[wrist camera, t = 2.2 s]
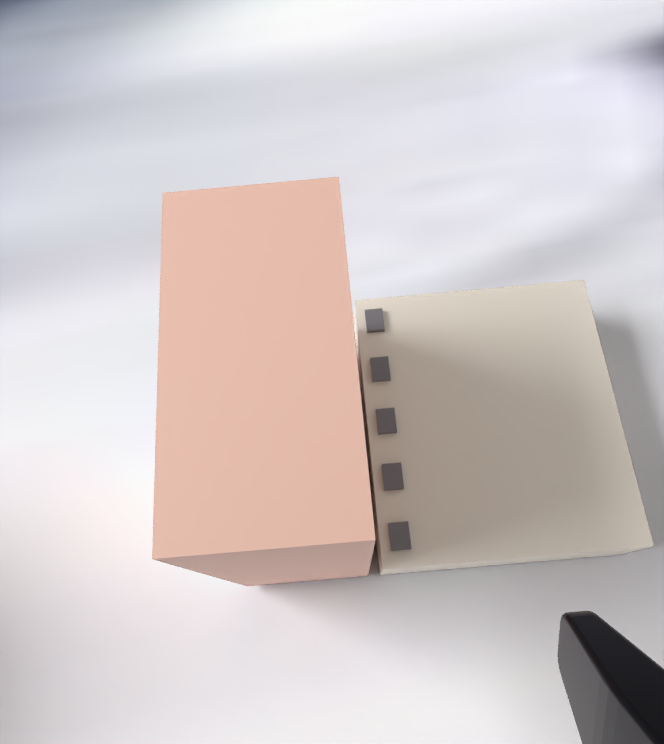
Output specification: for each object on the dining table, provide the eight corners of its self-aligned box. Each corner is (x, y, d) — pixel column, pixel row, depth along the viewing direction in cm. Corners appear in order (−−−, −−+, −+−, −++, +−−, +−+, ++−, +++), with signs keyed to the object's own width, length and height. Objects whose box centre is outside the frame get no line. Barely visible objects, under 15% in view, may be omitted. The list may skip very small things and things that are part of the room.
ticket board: (620, 554, 20) (656, 545, 18) (380, 575, 21) (383, 569, 18) (561, 313, 24) (586, 276, 21) (355, 331, 24) (354, 297, 21)
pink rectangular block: (368, 575, 20) (375, 540, 11) (246, 586, 20) (152, 558, 11) (346, 352, 23) (339, 176, 14) (241, 362, 23) (162, 192, 14)
